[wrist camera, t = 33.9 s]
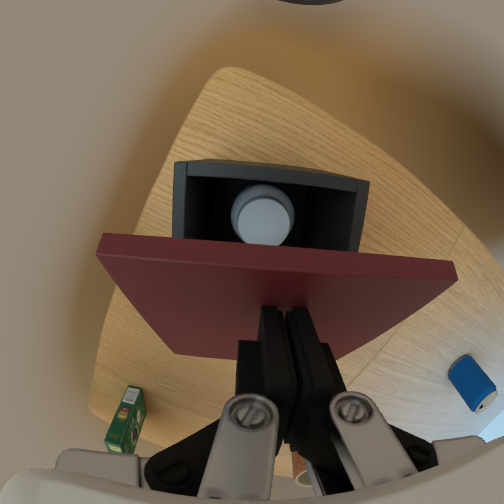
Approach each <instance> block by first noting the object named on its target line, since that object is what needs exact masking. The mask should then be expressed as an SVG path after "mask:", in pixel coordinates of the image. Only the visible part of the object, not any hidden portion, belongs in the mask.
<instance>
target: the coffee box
mask: <svg viewBox="0 0 504 504" xmlns="http://www.w3.org/2000/svg"><path fill="white" fill-rule="evenodd" d="M145 416H146V412H145V406H144V401H143V394H142V389H141V388H137V387H133V386H128V387H127V389H126V392H125V393H124V395H123V398H122V400H121V402H120V404H119V407H118V409H117V411H116V413H115V416H114V418H113V420H112V423H111V425H110V427H109V430H108V432H107V434H106V437H105V439H104V443H105V445H106V447H107V449H108V451H109V453H122V454H134V451H135V447H136V444H137V441H138V438H139V435H140V432H141V428H142V425H143V422H144V419H145Z"/></svg>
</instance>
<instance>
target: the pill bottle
mask: <svg viewBox="0 0 504 504" xmlns="http://www.w3.org/2000/svg"><path fill="white" fill-rule="evenodd" d="M294 218H295V214H294V208H293V205H292V202H291V200H290V199H289V197H288V196H287V195H286V194H285V192H284V191H283V190H282V189H281V188H280V187H279V186H278V185H277V184H275V183H274V182H270V181H259V180H251V181H249V182H247V183H246V184H244V185H243V186H242V187H241V188H240V189H239V191H238V192H237V194H236V197H235V199H234V202H233V205H232V209H231V222H232V226H233V228H234V230H235V232H236V234H237V235H238V236H239V237H240V238H241V239H242V240H243V241H244V242H245V243H250V244H263V245H275V246H278V245H280V244H281V243H282V242H283V241H284V240H285V239H286V237H287V236H288V234H289V233H290V231H291V229H292V227H293V224H294Z"/></svg>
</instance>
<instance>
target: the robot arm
mask: <svg viewBox="0 0 504 504" xmlns="http://www.w3.org/2000/svg"><path fill="white" fill-rule="evenodd" d="M283 439H284V443H285V444H290V452H296V451H298V454H299V455H300V456H302V457H303V458H305V459H304V463H305V467H306V470H307V473H308V475H309V478H310V481H311V484H312V486H313V489H314V492H315V495H316V497H310V498H301V499H289V500H288V499H287V500H270V496H271V487H272V480H273V471H274V462H275V457H276V456H277V455H278V453H279V450H280V447H281V444H282V441H283ZM0 504H504V436H502V437H500V438H497V439H494V440H492V441H490V442H488V443H486V442H485V441H484V440H483V439H482V438H480V437H478V436H466V437H460V438H453V439H445V440H436V441H433V442H432V443H431V444H430V443H429V442H427V441H426V440H424V439H421V438H419V437H417V436H414V435H412V434H410V433H408V432H406V431H403V430H401V429H399V428H397V427H395V426H393V425H390V424H388V423H387V421H386V420H385V418H384V417H383V415H382V413H381V412H380V410H379V409H378V407H377V406H376V404H375V403H374V402H373V400H372V399H371V398H369V397H368V396H366V395H365V394H362V393H359V392H354V391H347V390H346V387H345V384H344V382H343V379H342V377H341V374H340V371H339V369H338V366H337V364H336V361H335V358H334V356H333V353H332V351H331V348H330V346H329V344H328V343H320V340H319V338H318V335H317V332H316V329H315V327H314V324H313V321H312V319H311V316H310V313H309V310H308V308H294V307H292V309H291V311H286V314H285V319H284V316H283V312H282V311H278V310H277V307H274V306H261V311H260V319H259V327H258V335H257V341H252V340H239V341H238V353H237V367H236V388H235V396H234V397H232V398H231V399H229V400H228V401H227V402H226V404H225V406H224V408H223V411H222V415H221V418H220V419H218V420H216V421H215V422H213V423H211V424H210V425H208V426H206V427H205V428H203V429H201V430H199V431H198V432H196V433H194V434H192V435H191V436H189V437H187V438H185V439H183V440H182V441H180V442H178V443H176V444H174V445H172V446H170V447H168V448H166V449H165V450H162V451H161V452H158V453H156V454H155V455H154V456H152V457H139V456H138V455H137V454H122V453H109V452H99V451H90V450H84V449H68V450H65V451H63V452H62V453H61V454H60V455H59V456H58V458H57V461H56V465H55V469H29V470H24V471H21V472H19V473H17V474H15V475H14V476H13V477H11V478H10V480H8V482H7V483H6V484H5V486H4V487H3V488H2V490H1V491H0Z"/></svg>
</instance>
